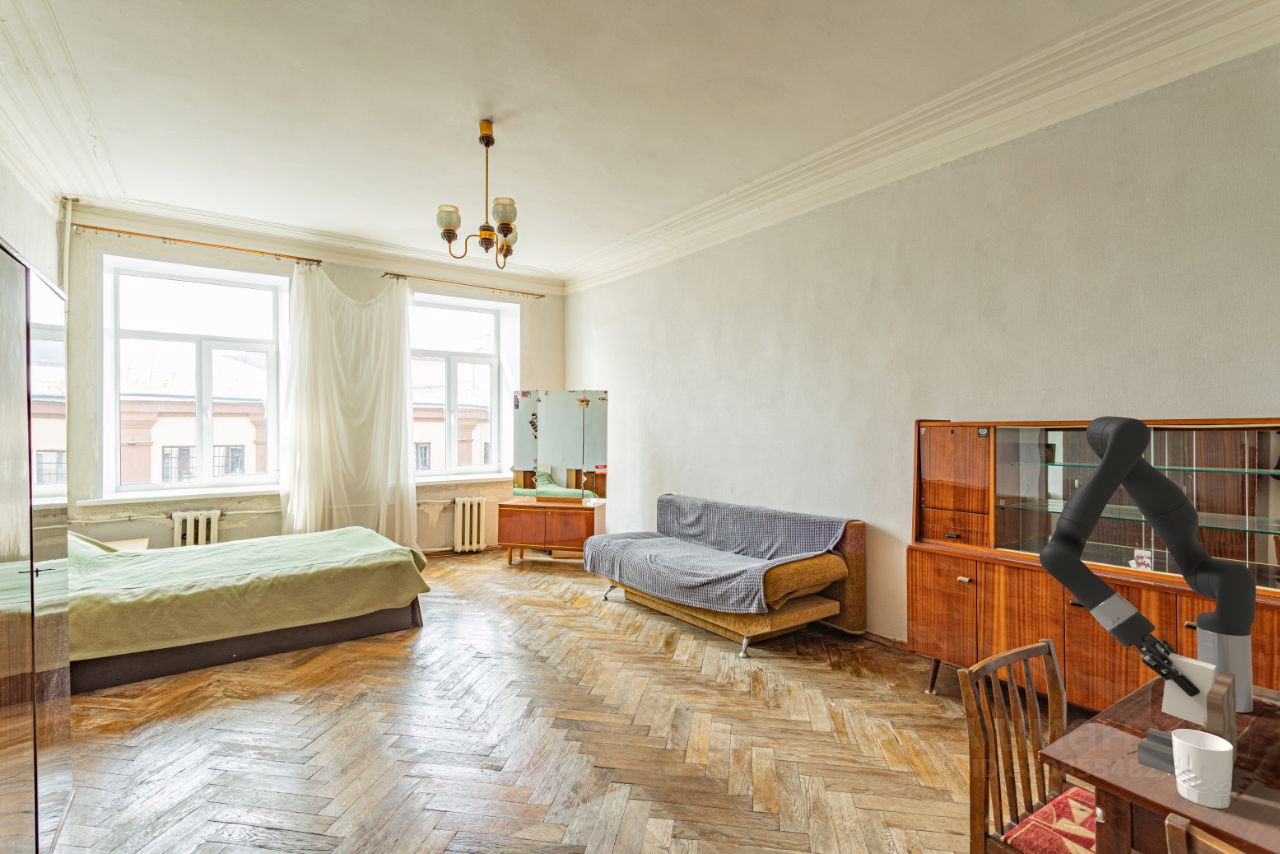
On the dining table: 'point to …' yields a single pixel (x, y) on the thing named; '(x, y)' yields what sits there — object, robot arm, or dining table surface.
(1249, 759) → the dining table surface
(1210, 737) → the white cup
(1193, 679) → the plain white rectangular block
